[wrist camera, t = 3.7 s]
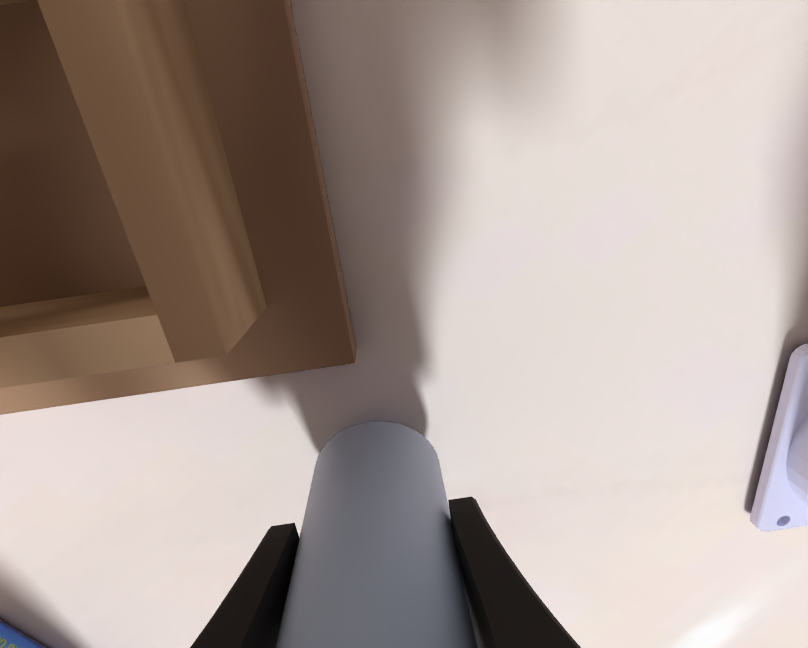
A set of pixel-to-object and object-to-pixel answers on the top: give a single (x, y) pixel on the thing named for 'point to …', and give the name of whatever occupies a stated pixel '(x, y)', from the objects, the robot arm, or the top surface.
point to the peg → (377, 549)
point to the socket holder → (159, 201)
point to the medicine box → (15, 638)
